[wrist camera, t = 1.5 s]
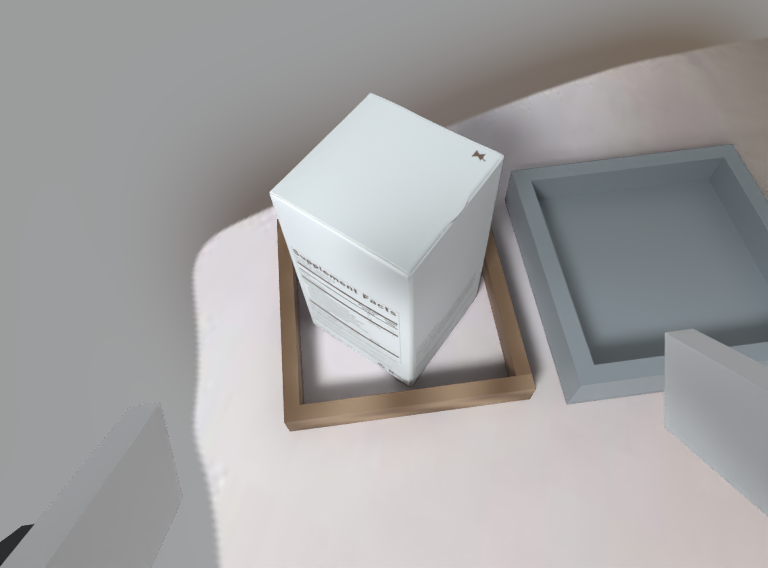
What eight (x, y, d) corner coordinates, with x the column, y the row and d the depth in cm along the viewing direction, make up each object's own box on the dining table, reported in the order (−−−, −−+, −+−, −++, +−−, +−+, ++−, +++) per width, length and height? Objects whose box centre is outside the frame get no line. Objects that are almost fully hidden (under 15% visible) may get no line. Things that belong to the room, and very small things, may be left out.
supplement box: (381, 239, 44) (370, 85, 31) (479, 295, 41) (512, 151, 28) (308, 323, 41) (262, 188, 28) (409, 391, 38) (411, 276, 25)
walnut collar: (478, 210, 45) (481, 194, 44) (529, 399, 37) (535, 388, 35) (281, 234, 45) (276, 219, 43) (290, 431, 37) (284, 422, 35)
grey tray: (711, 174, 46) (732, 144, 43) (821, 369, 37) (857, 348, 34) (504, 200, 46) (511, 170, 43) (566, 404, 37) (581, 385, 34)
